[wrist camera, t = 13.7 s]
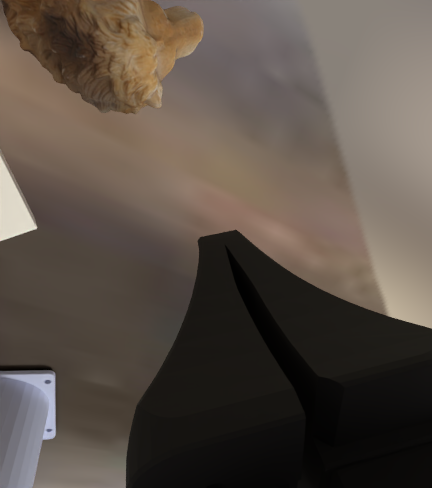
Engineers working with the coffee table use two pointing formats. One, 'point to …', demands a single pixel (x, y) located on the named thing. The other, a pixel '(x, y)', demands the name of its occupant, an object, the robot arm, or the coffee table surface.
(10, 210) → the tile
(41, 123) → the coffee table surface
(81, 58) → the lion figurine
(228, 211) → the coffee table surface
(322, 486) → the robot arm
